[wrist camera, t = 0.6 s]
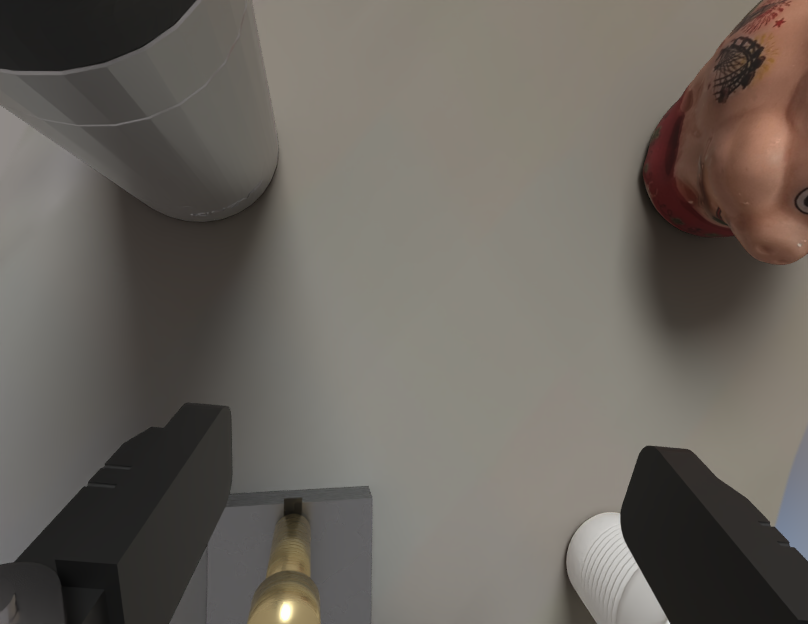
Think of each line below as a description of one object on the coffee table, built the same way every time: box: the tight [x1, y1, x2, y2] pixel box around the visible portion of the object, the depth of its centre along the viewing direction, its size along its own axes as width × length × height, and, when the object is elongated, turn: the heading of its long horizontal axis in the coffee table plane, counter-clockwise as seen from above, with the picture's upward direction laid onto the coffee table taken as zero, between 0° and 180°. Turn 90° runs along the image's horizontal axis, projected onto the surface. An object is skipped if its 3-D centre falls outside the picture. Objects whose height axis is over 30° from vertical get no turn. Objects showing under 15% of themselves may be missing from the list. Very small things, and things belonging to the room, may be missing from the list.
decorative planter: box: [643, 0, 808, 265], centre depth 28 cm, size 20×12×14 cm, turn 163°
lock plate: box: [206, 486, 372, 624], centre depth 27 cm, size 13×9×2 cm
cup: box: [566, 512, 670, 624], centre depth 27 cm, size 10×10×11 cm
